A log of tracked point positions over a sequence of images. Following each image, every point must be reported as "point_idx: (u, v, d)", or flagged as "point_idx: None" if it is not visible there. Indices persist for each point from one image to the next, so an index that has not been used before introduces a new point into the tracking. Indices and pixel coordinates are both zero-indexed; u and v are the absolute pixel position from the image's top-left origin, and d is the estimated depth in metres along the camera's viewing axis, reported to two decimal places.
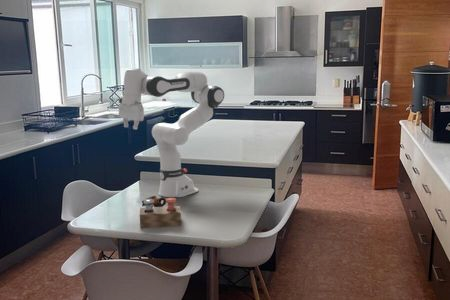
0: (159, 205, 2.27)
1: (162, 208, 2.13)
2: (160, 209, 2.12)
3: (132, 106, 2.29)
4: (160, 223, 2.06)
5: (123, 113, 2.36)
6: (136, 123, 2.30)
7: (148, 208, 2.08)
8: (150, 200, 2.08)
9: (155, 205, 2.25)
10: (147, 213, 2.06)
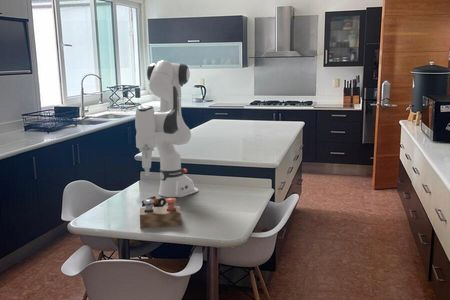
0: (159, 205, 2.27)
1: (162, 208, 2.13)
2: (160, 209, 2.12)
3: (142, 150, 2.00)
4: (160, 223, 2.06)
5: None
6: (146, 169, 2.01)
7: (148, 208, 2.08)
8: (150, 200, 2.08)
9: (155, 205, 2.25)
10: (147, 213, 2.06)
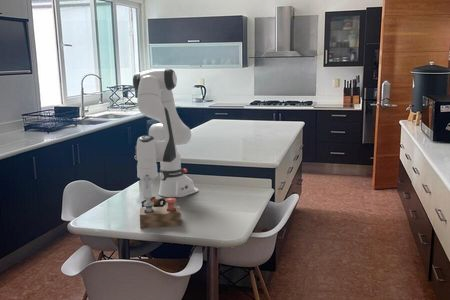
0: (159, 206, 2.26)
1: (162, 208, 2.13)
2: (160, 209, 2.12)
3: (143, 180, 2.02)
4: (160, 223, 2.06)
5: None
6: None
7: (148, 210, 2.08)
8: (150, 202, 2.09)
9: (155, 206, 2.24)
10: (147, 213, 2.06)
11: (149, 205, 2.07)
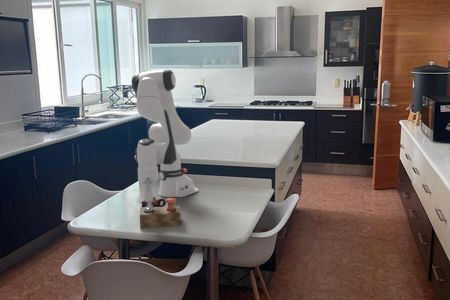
0: (159, 206, 2.26)
1: (162, 208, 2.13)
2: (160, 209, 2.12)
3: None
4: (160, 223, 2.06)
5: None
6: None
7: None
8: (150, 208, 2.09)
9: (155, 206, 2.24)
10: (147, 213, 2.06)
11: (149, 210, 2.07)
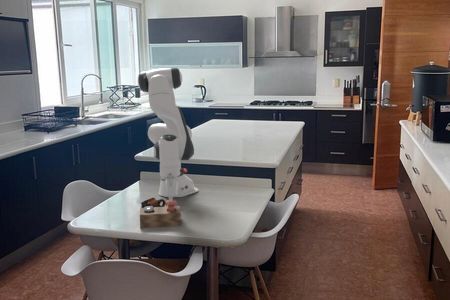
0: None
1: (162, 208, 2.13)
2: (160, 209, 2.12)
3: (166, 179, 2.04)
4: (160, 223, 2.06)
5: None
6: None
7: None
8: (150, 208, 2.09)
9: None
10: (147, 213, 2.06)
11: (149, 210, 2.07)
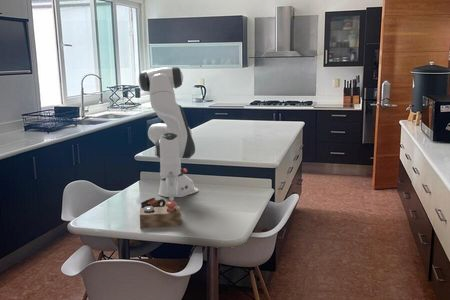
0: None
1: (162, 208, 2.13)
2: (160, 209, 2.12)
3: None
4: (160, 223, 2.06)
5: None
6: None
7: None
8: (150, 208, 2.09)
9: None
10: (147, 213, 2.06)
11: (149, 210, 2.07)
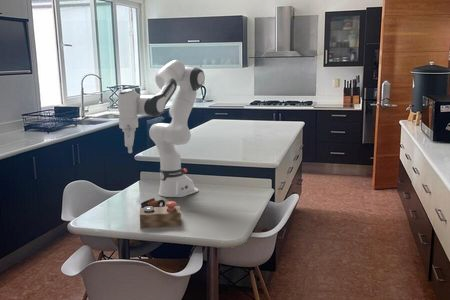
0: None
1: (162, 208, 2.13)
2: (160, 209, 2.12)
3: (124, 130, 2.16)
4: (160, 223, 2.06)
5: None
6: (129, 147, 2.20)
7: None
8: (150, 208, 2.09)
9: None
10: (147, 213, 2.06)
11: (149, 210, 2.07)
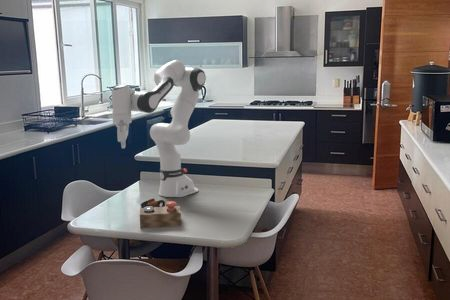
0: None
1: (162, 208, 2.13)
2: (160, 209, 2.12)
3: None
4: (160, 223, 2.06)
5: None
6: (122, 142, 2.22)
7: None
8: (150, 208, 2.09)
9: None
10: (147, 213, 2.06)
11: (149, 210, 2.07)
